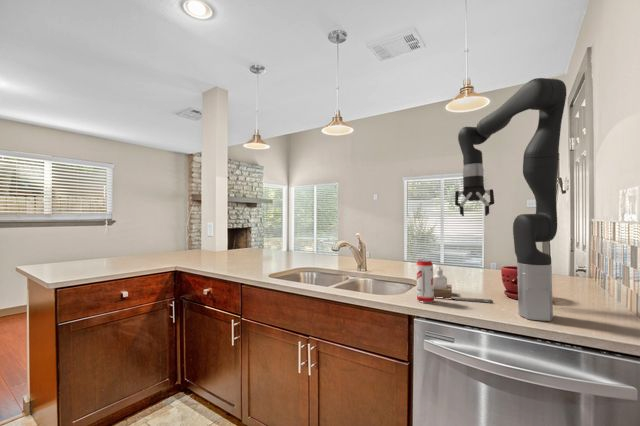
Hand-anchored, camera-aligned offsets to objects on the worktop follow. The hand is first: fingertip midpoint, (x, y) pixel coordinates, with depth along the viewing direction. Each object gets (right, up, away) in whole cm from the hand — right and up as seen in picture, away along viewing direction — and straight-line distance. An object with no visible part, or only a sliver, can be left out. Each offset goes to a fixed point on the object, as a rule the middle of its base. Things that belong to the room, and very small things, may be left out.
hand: (474, 215), depth 127 cm
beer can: (-22, -34, -5) cm, 40 cm away
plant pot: (+18, -33, -2) cm, 37 cm away
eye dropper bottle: (-12, -34, +4) cm, 36 cm away
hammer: (-6, -33, +1) cm, 34 cm away
